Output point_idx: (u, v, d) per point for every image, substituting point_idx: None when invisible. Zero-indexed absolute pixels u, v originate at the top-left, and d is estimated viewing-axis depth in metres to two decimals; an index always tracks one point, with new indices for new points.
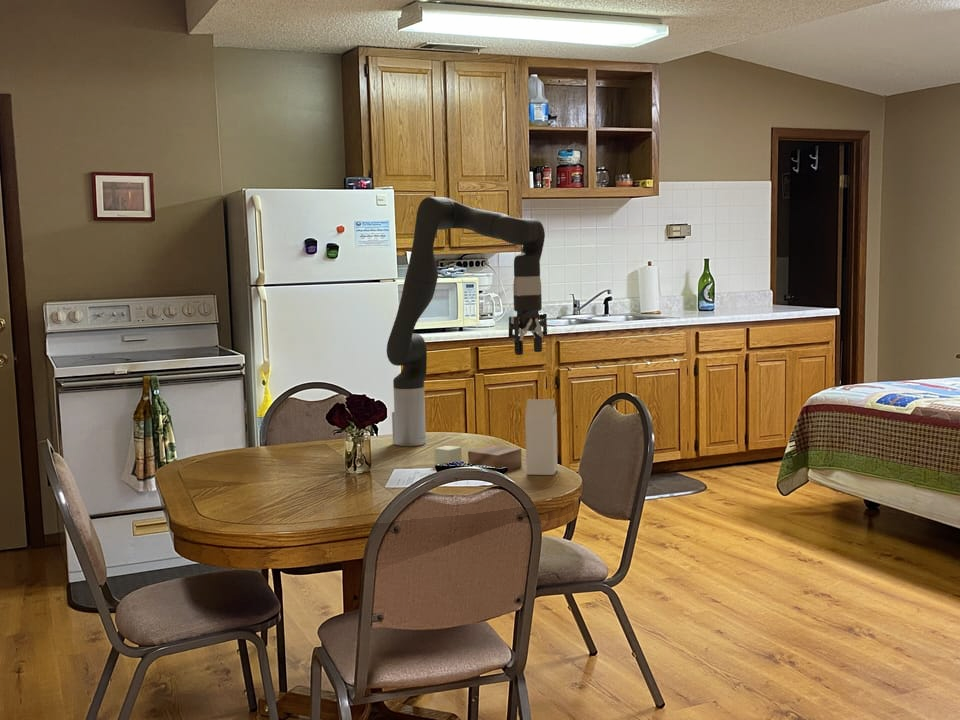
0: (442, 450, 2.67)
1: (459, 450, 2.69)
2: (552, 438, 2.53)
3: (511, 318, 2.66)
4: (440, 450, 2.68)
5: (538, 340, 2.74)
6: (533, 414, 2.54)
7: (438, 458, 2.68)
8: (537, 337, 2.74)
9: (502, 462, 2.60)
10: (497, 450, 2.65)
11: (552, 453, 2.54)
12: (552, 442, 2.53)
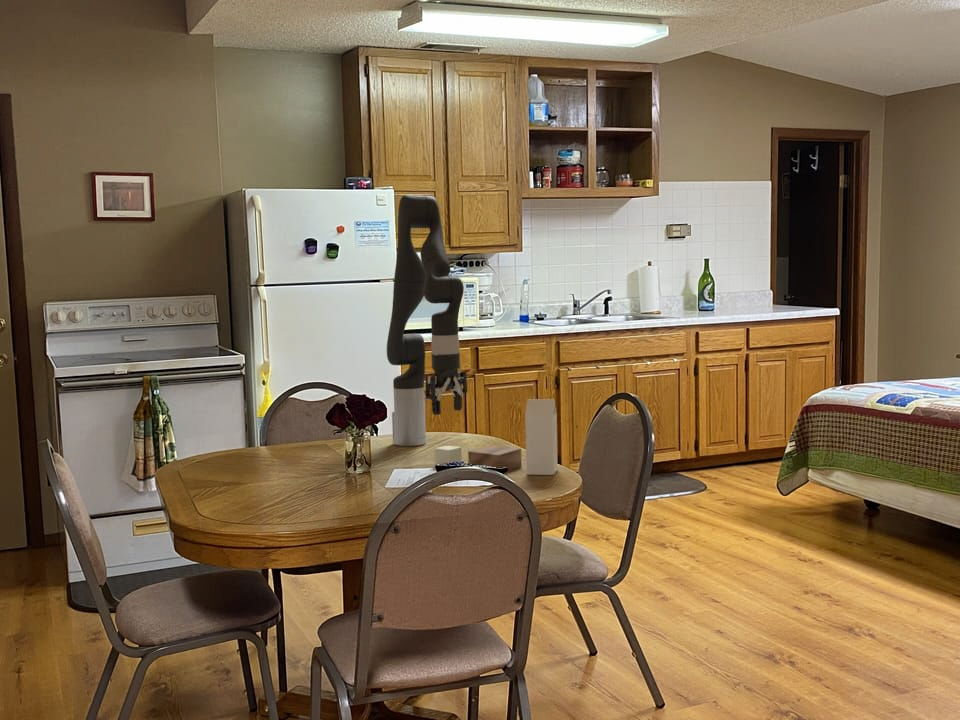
0: (442, 450, 2.67)
1: (459, 450, 2.69)
2: (552, 438, 2.53)
3: (428, 378, 2.62)
4: (440, 450, 2.68)
5: (458, 398, 2.71)
6: (533, 414, 2.54)
7: (438, 458, 2.68)
8: (457, 395, 2.71)
9: (502, 462, 2.60)
10: (497, 450, 2.65)
11: (552, 453, 2.54)
12: (552, 442, 2.53)
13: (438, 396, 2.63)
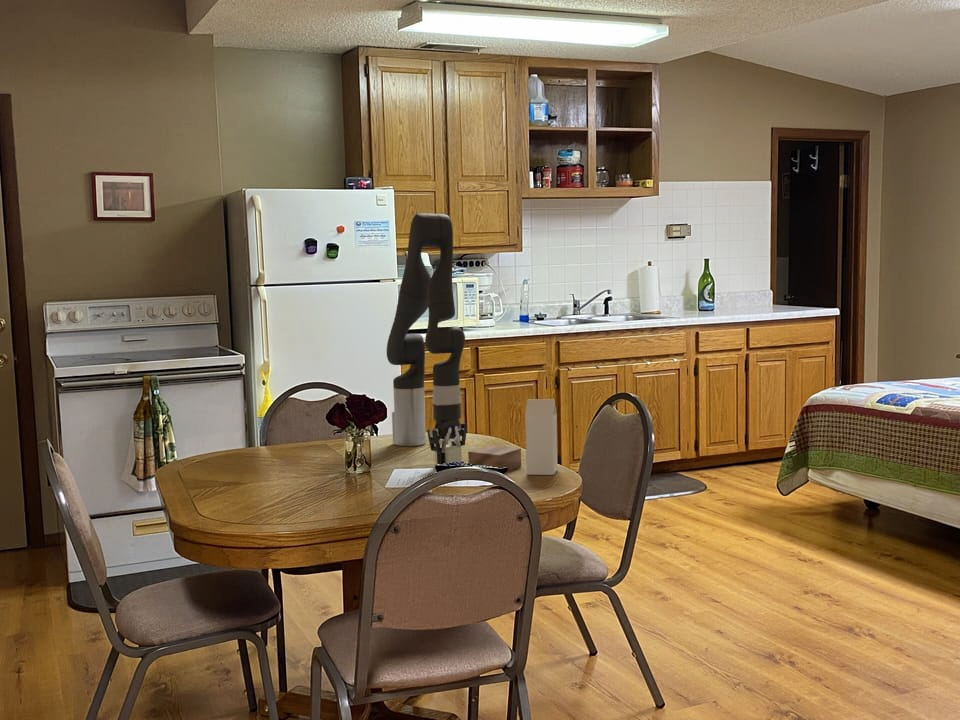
0: None
1: (459, 450, 2.69)
2: (552, 438, 2.53)
3: (429, 432, 2.64)
4: None
5: None
6: (533, 414, 2.54)
7: None
8: None
9: (503, 462, 2.60)
10: (497, 450, 2.65)
11: (552, 453, 2.54)
12: (552, 442, 2.53)
13: (443, 448, 2.66)
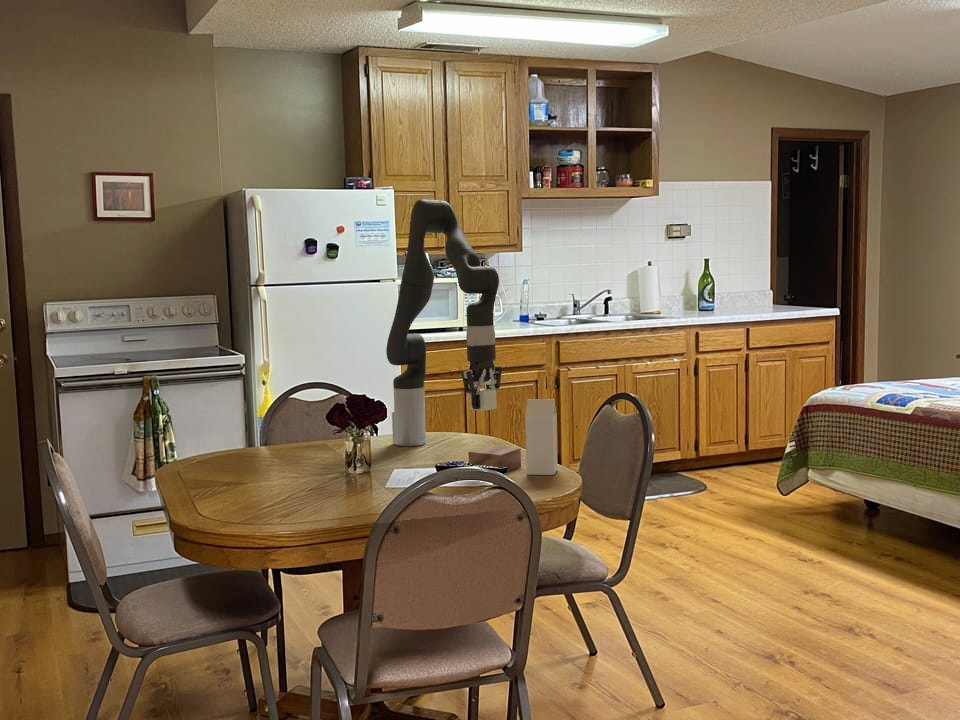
0: None
1: (494, 392, 2.64)
2: (552, 438, 2.53)
3: (464, 373, 2.59)
4: None
5: None
6: (533, 414, 2.54)
7: None
8: None
9: (504, 462, 2.60)
10: (497, 450, 2.65)
11: (552, 453, 2.54)
12: (552, 442, 2.53)
13: (477, 390, 2.60)
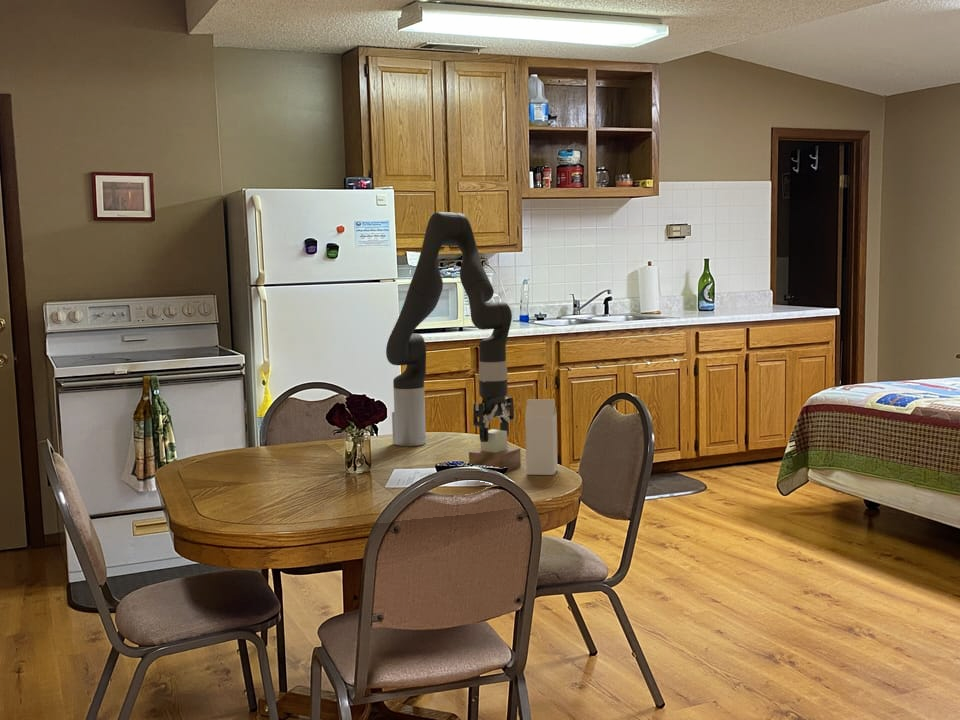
0: (488, 434, 2.63)
1: (505, 434, 2.65)
2: (552, 438, 2.53)
3: (476, 405, 2.59)
4: None
5: (504, 425, 2.67)
6: (533, 414, 2.54)
7: (484, 442, 2.64)
8: (503, 422, 2.68)
9: (505, 462, 2.60)
10: None
11: (552, 453, 2.54)
12: (552, 442, 2.53)
13: (486, 423, 2.60)
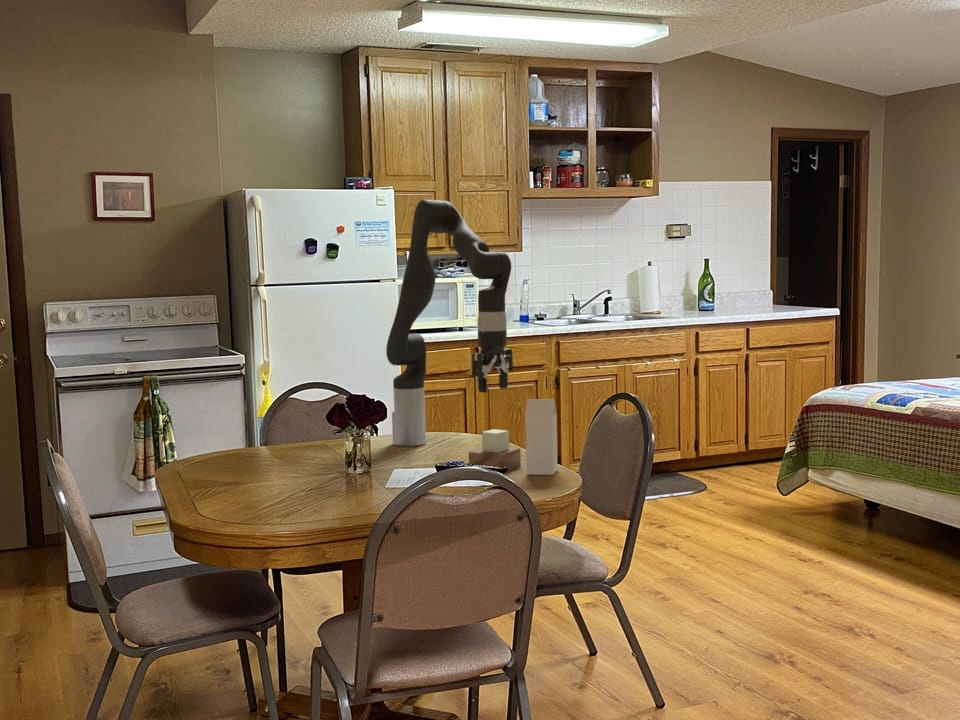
0: (490, 434, 2.63)
1: (506, 434, 2.65)
2: (552, 438, 2.53)
3: (474, 355, 2.58)
4: (487, 434, 2.63)
5: (503, 376, 2.66)
6: (533, 414, 2.54)
7: (485, 442, 2.64)
8: (502, 373, 2.66)
9: (505, 462, 2.60)
10: None
11: (552, 453, 2.54)
12: (552, 442, 2.53)
13: (485, 373, 2.59)
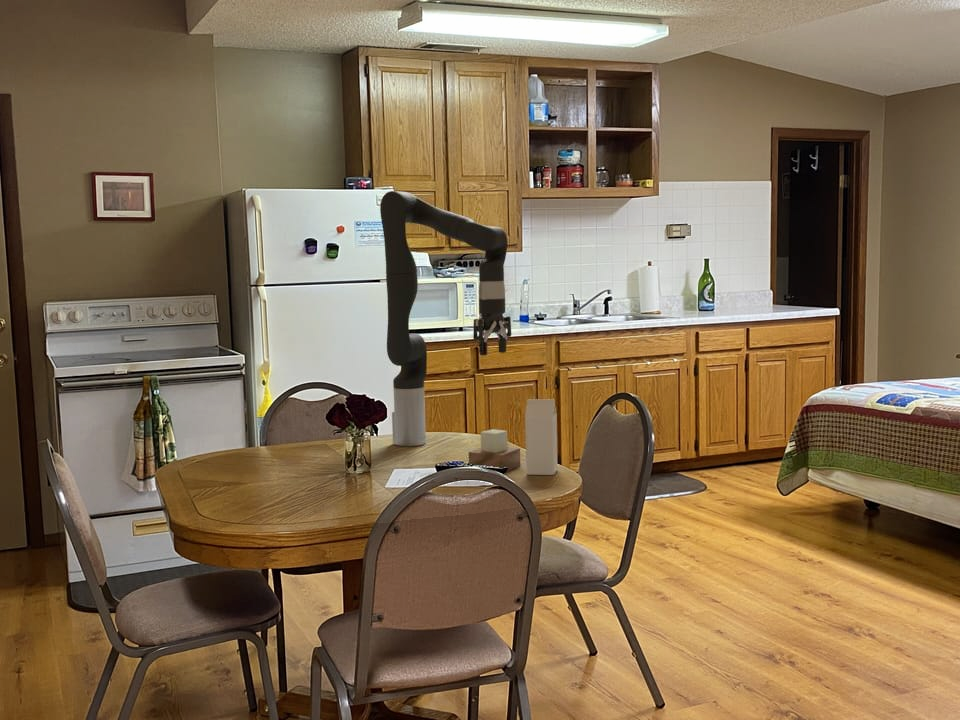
0: (488, 434, 2.63)
1: (505, 434, 2.65)
2: (552, 438, 2.53)
3: (476, 321, 2.81)
4: (486, 434, 2.63)
5: (502, 341, 2.89)
6: (533, 414, 2.54)
7: (484, 442, 2.64)
8: (501, 338, 2.90)
9: (505, 462, 2.60)
10: None
11: (552, 453, 2.54)
12: (552, 442, 2.53)
13: (485, 338, 2.82)
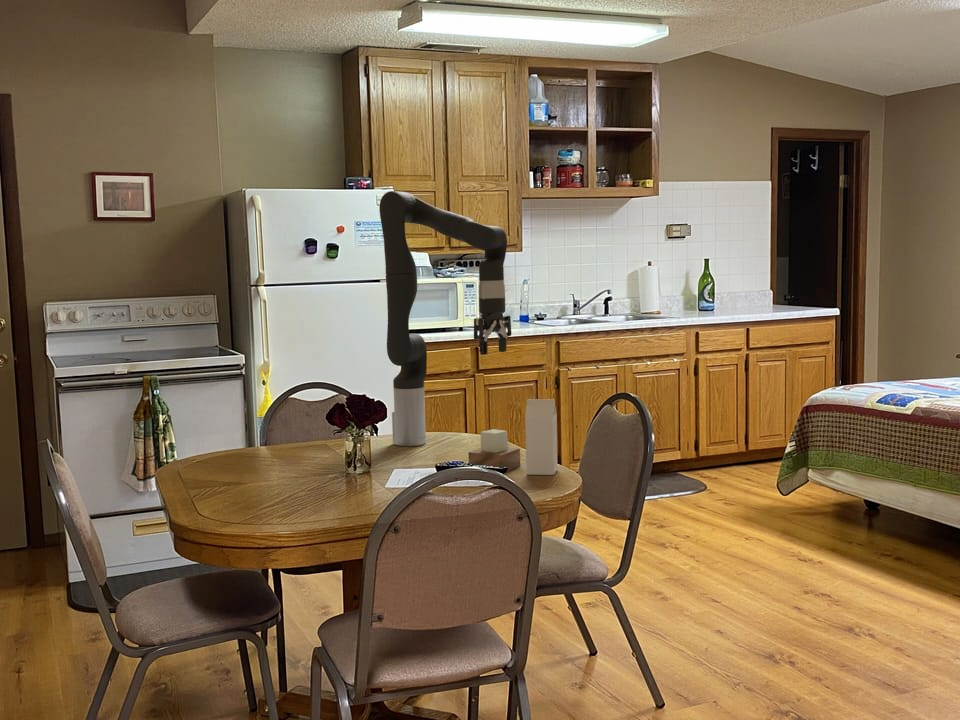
0: (488, 434, 2.63)
1: (505, 434, 2.65)
2: (552, 438, 2.53)
3: (476, 320, 2.81)
4: (486, 434, 2.63)
5: (502, 341, 2.89)
6: (533, 414, 2.54)
7: (484, 442, 2.64)
8: (502, 338, 2.90)
9: (505, 462, 2.60)
10: None
11: (552, 453, 2.54)
12: (552, 442, 2.53)
13: (485, 337, 2.82)
